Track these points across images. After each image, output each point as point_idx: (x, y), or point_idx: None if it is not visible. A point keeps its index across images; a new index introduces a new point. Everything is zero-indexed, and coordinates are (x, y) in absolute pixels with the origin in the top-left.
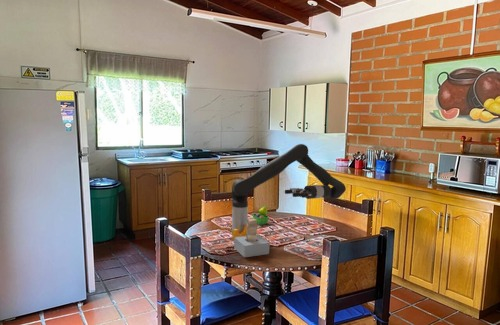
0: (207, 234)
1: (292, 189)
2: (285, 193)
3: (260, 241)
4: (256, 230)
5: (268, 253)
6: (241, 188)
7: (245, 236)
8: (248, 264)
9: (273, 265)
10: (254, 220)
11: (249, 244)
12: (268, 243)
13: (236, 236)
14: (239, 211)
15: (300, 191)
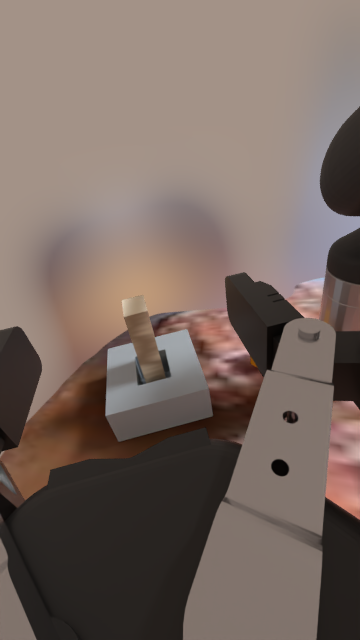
0: (310, 303)
1: (283, 341)
2: (228, 314)
3: (129, 389)
4: (135, 350)
5: (117, 438)
6: (328, 167)
7: (191, 352)
8: (71, 379)
9: (27, 438)
10: (123, 312)
11: (113, 359)
12: (106, 413)
13: None
14: (324, 284)
15: (50, 486)
